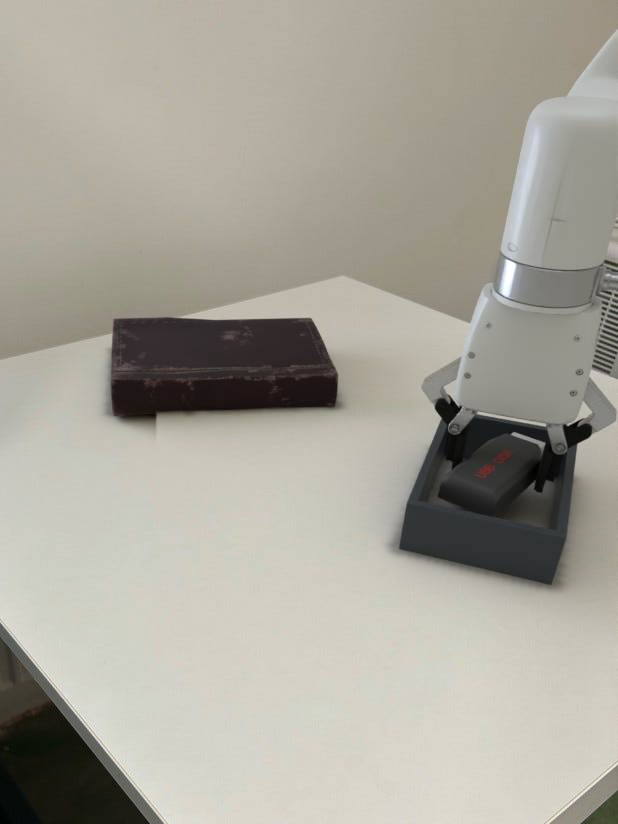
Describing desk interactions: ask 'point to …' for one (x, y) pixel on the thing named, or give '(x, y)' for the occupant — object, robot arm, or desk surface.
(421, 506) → the tub
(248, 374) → the diary
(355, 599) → the desk surface
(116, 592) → the desk surface
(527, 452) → the usb drive
